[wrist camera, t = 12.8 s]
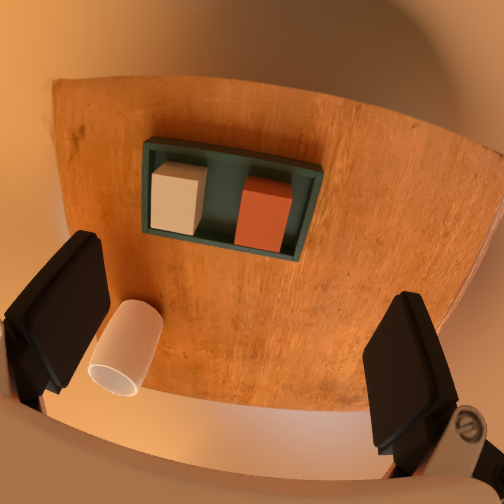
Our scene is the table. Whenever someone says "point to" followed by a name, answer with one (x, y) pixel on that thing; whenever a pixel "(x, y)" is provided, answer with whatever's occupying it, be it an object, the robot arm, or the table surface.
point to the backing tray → (233, 191)
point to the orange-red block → (263, 213)
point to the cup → (126, 348)
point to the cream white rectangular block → (177, 197)
